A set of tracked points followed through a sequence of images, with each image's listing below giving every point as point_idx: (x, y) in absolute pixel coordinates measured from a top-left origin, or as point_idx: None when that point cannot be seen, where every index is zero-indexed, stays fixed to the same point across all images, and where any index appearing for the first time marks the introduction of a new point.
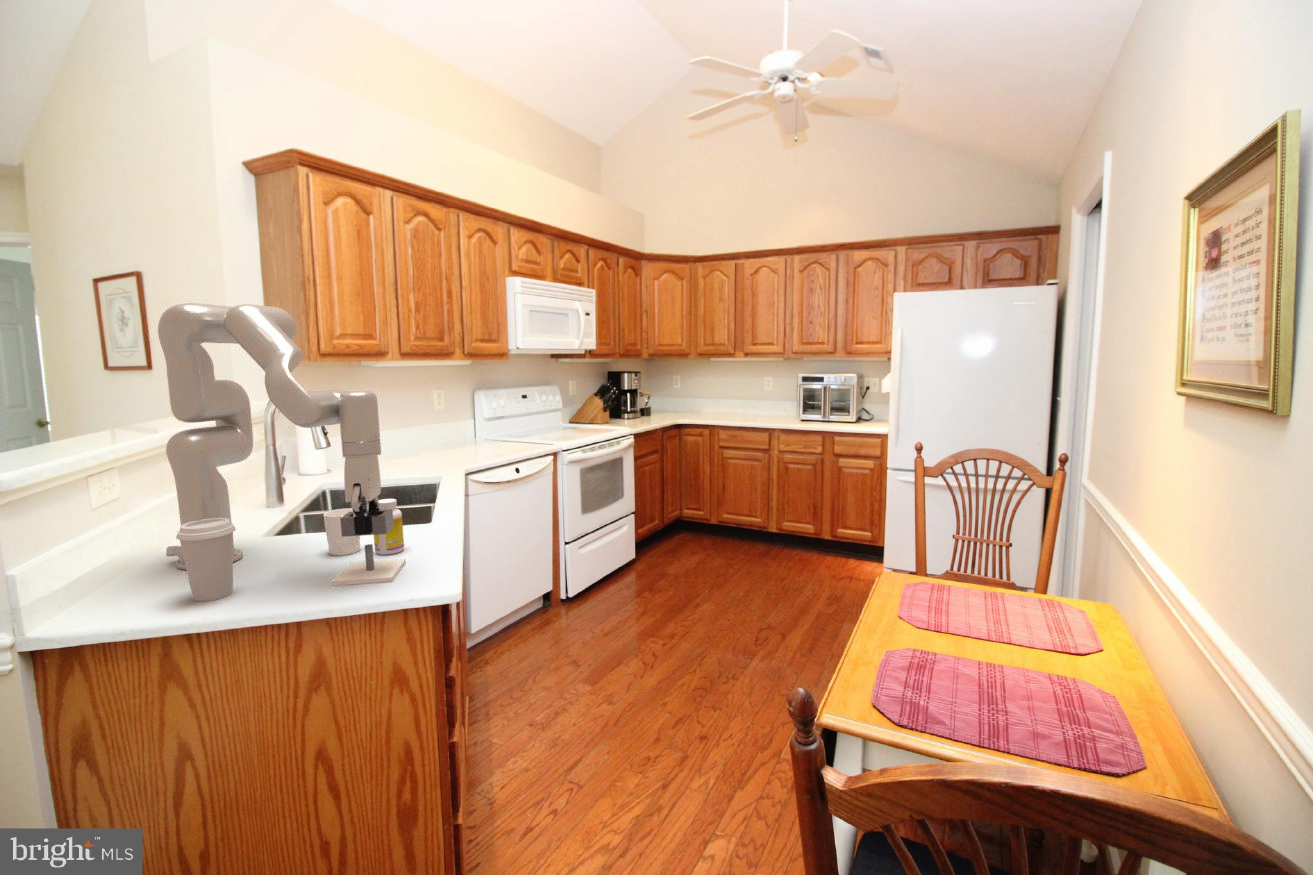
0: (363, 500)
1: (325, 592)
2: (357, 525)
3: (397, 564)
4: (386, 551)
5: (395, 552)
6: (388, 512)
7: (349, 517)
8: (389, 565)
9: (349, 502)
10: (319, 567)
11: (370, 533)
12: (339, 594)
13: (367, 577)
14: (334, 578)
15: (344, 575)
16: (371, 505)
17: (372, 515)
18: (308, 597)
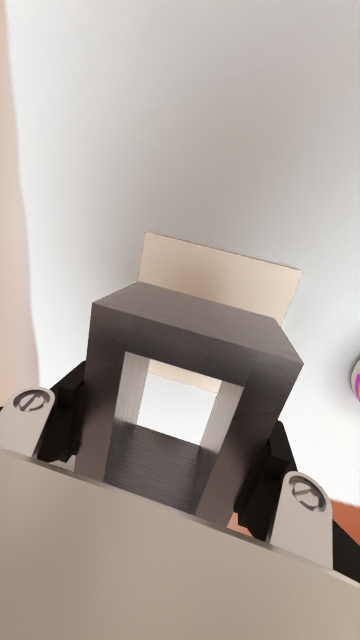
0: (271, 538)
1: (107, 221)
2: (71, 372)
3: (210, 383)
4: (358, 370)
5: (352, 388)
6: None
7: (100, 358)
8: None
9: (10, 450)
10: (352, 169)
11: None
12: (85, 255)
13: None
14: (164, 237)
15: (178, 262)
16: (258, 520)
17: (103, 466)
18: (85, 183)
